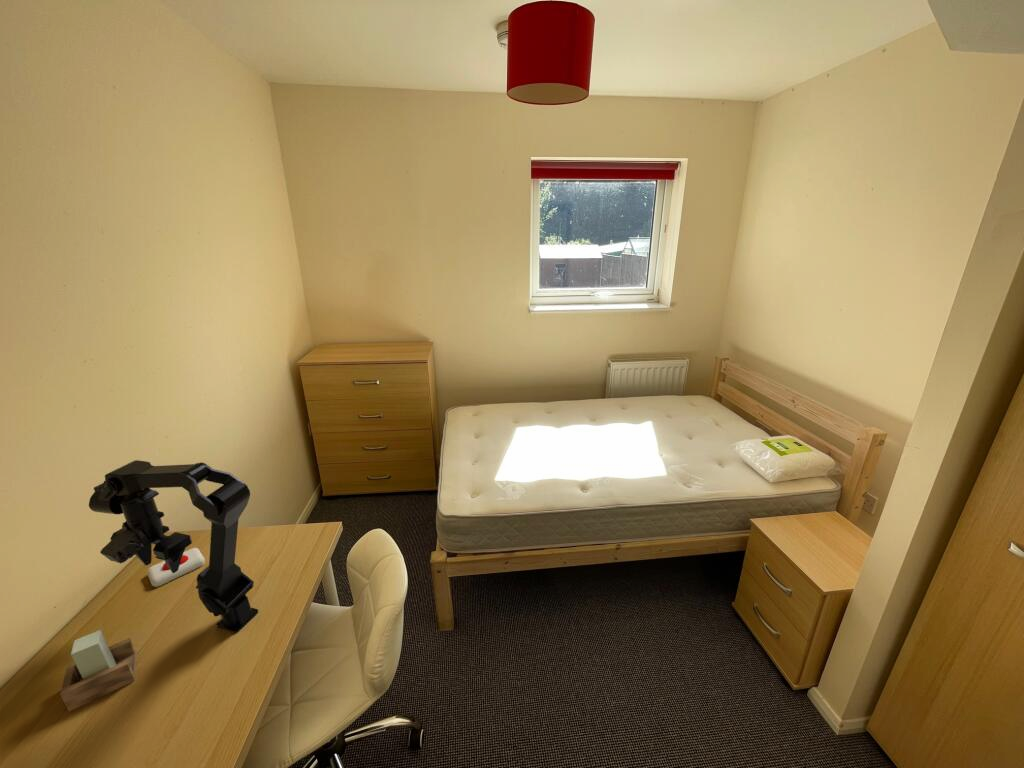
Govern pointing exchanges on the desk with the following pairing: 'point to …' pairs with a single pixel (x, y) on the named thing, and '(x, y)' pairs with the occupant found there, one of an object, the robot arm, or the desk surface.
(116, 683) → the wooden channel cradle
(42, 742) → the desk surface
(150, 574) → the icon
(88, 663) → the clay bar
